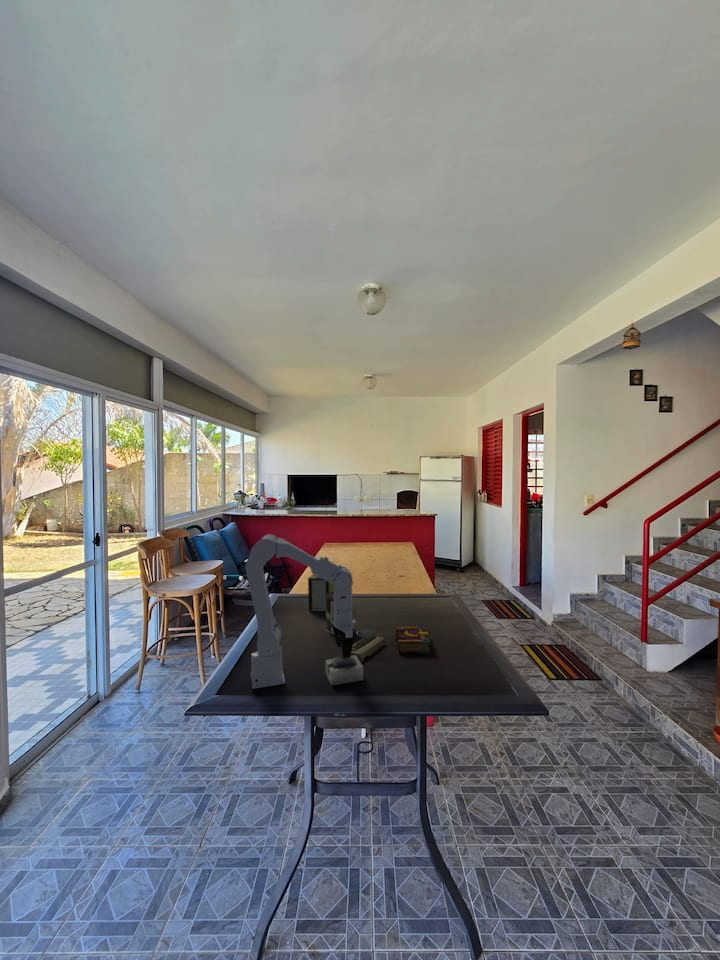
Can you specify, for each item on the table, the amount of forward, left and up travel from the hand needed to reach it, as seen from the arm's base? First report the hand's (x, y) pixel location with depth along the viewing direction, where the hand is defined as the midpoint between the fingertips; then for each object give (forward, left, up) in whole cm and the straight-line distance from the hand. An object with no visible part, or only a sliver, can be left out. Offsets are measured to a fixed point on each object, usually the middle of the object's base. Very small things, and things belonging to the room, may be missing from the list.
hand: (343, 651), depth 122 cm
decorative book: (+29, +14, -8) cm, 34 cm away
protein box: (+7, +65, -8) cm, 66 cm away
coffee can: (+7, +36, -8) cm, 38 cm away
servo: (0, 0, -7) cm, 7 cm away
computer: (+11, +15, -8) cm, 21 cm away
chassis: (0, 0, -8) cm, 8 cm away
